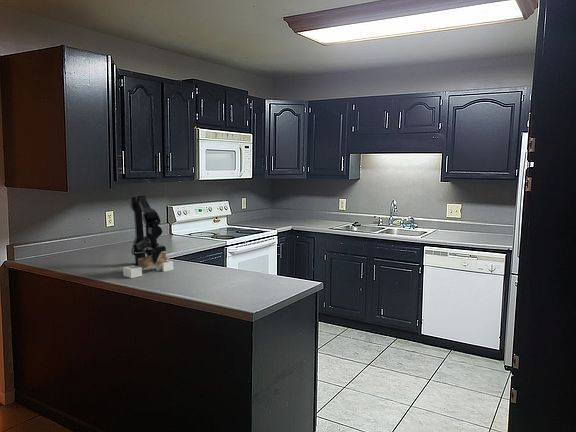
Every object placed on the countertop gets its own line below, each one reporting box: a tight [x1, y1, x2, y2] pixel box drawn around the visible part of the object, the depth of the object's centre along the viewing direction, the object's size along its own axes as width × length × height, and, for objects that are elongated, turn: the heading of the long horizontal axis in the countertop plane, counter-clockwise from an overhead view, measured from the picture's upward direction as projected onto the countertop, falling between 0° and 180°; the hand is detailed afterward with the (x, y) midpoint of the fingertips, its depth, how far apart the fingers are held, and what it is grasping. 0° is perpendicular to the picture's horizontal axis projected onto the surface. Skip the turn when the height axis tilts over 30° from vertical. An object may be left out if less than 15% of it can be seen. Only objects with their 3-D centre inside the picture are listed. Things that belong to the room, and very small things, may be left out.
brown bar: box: [137, 252, 168, 270], centre depth 252 cm, size 16×4×5 cm, turn 144°
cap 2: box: [155, 259, 174, 272], centre depth 258 cm, size 8×6×4 cm
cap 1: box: [122, 264, 143, 279], centre depth 244 cm, size 8×6×4 cm
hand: (152, 262), depth 253 cm, fingers closed on brown bar, 4 cm apart
